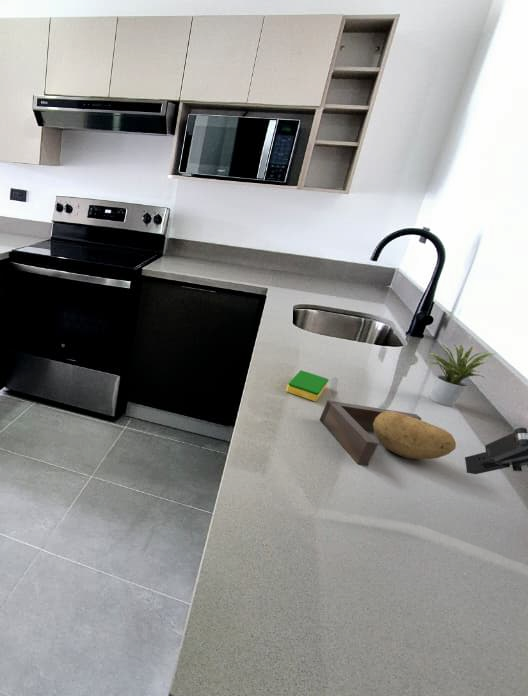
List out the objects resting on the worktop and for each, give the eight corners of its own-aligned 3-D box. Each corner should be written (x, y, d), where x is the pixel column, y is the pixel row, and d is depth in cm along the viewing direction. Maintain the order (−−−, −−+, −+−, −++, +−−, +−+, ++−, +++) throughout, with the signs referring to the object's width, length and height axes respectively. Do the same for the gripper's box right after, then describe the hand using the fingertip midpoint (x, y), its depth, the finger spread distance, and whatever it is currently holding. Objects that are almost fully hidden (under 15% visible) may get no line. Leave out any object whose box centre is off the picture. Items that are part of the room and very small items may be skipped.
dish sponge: (325, 387, 132) (329, 378, 131) (315, 402, 121) (318, 393, 120) (297, 377, 136) (300, 369, 135) (285, 391, 125) (288, 382, 124)
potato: (445, 478, 95) (465, 443, 92) (363, 449, 102) (379, 415, 99) (442, 458, 103) (460, 424, 100) (366, 432, 110) (380, 400, 106)
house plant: (442, 390, 142) (470, 336, 135) (488, 414, 130) (521, 356, 123) (401, 388, 139) (427, 333, 132) (444, 412, 127) (475, 352, 120)
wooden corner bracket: (406, 433, 112) (416, 414, 110) (459, 480, 95) (472, 458, 93) (319, 419, 112) (327, 400, 110) (357, 464, 96) (367, 441, 94)
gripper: (667, 409, 64) (505, 450, 86) (564, 393, 65) (429, 438, 87) (684, 466, 62) (512, 493, 84) (576, 450, 62) (434, 481, 84)
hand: (470, 465), depth 85 cm, fingers closed
